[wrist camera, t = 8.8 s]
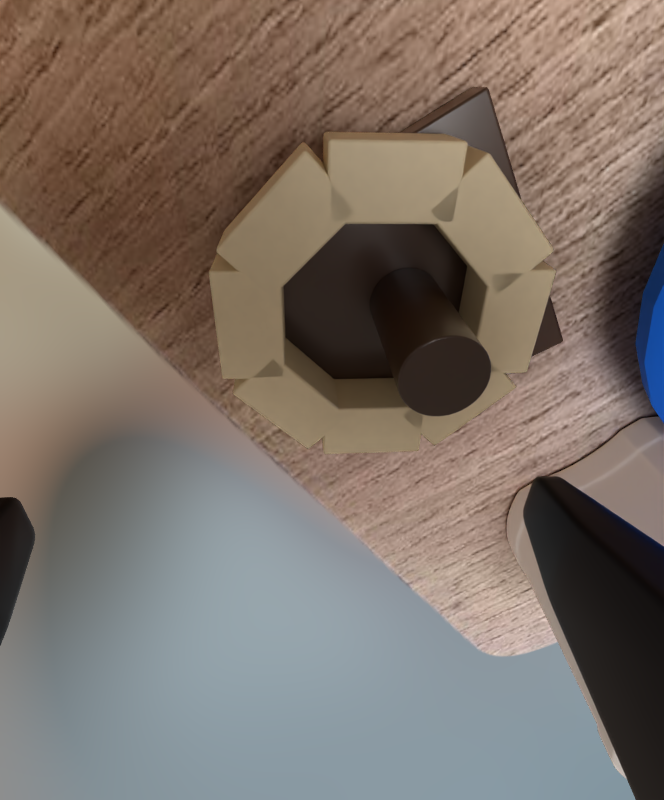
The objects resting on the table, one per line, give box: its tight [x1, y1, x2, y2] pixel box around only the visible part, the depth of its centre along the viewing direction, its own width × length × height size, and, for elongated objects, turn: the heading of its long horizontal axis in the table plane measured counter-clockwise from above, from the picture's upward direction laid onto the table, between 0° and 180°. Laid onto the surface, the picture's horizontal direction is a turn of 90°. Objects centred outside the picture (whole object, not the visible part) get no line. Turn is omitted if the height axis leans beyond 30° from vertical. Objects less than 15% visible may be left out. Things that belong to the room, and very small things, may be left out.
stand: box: [283, 87, 563, 416], centre depth 14 cm, size 9×9×6 cm
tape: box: [209, 132, 556, 454], centre depth 15 cm, size 10×10×2 cm
